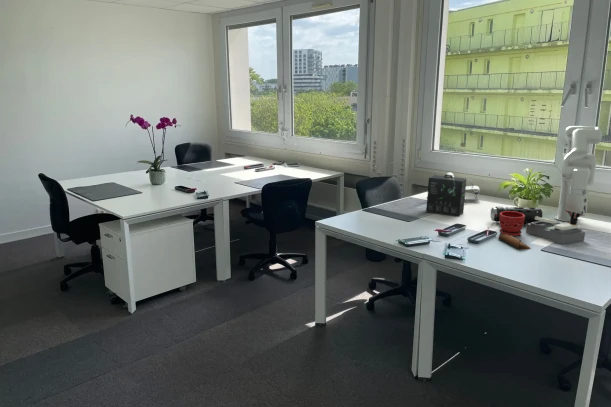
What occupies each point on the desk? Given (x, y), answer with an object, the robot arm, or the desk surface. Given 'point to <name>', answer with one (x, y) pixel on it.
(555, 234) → the panel
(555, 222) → the plate
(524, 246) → the brown pointed cylinder
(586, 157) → the robot arm
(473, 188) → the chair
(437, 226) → the desk surface
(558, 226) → the rocker
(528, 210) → the muzzle brake
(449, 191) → the headset box
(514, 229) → the plant pot
